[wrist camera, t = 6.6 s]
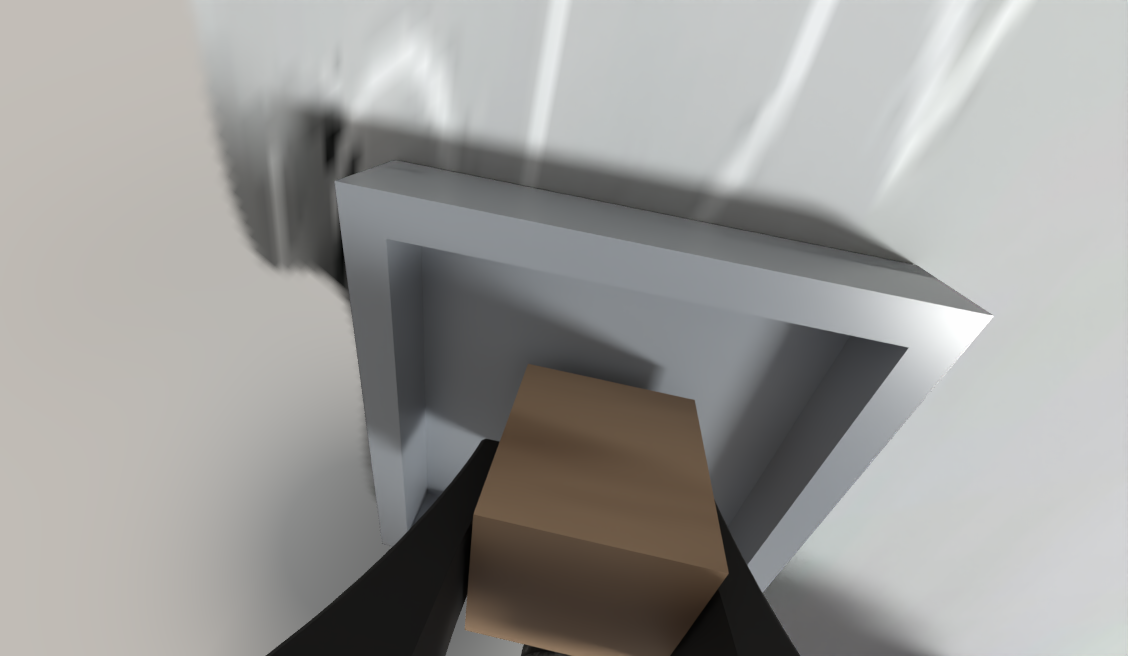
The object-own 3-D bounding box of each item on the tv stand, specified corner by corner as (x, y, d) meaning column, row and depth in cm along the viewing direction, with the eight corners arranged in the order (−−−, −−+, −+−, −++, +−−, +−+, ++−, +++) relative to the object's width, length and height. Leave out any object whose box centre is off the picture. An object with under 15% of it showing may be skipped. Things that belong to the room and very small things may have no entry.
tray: (721, 557, 17) (734, 626, 15) (412, 486, 17) (381, 543, 15) (916, 265, 10) (994, 315, 8) (394, 159, 10) (334, 181, 8)
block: (648, 504, 13) (655, 675, 9) (512, 472, 13) (464, 630, 10) (694, 399, 11) (729, 573, 7) (527, 363, 11) (473, 514, 7)
